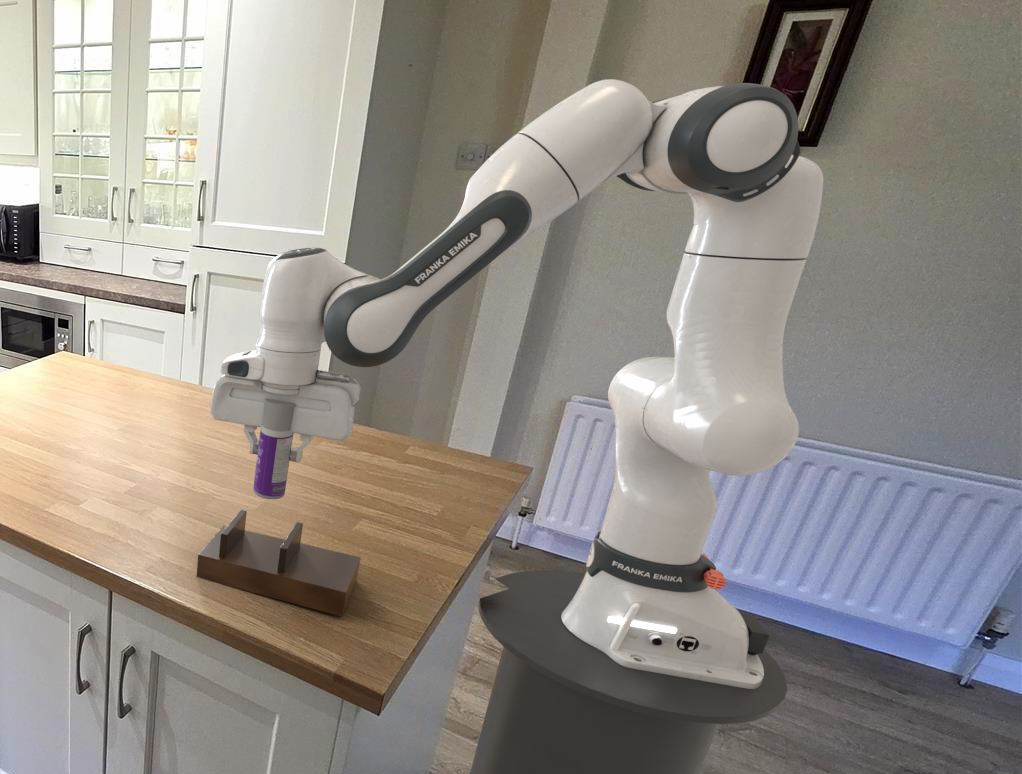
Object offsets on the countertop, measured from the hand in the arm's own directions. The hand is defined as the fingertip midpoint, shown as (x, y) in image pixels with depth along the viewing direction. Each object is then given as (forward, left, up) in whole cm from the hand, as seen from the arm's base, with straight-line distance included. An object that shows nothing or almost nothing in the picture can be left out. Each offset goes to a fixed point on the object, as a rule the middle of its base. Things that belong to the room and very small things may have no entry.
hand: (274, 456), depth 110 cm
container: (0, 0, -6) cm, 6 cm away
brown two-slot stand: (-3, 0, -20) cm, 20 cm away
